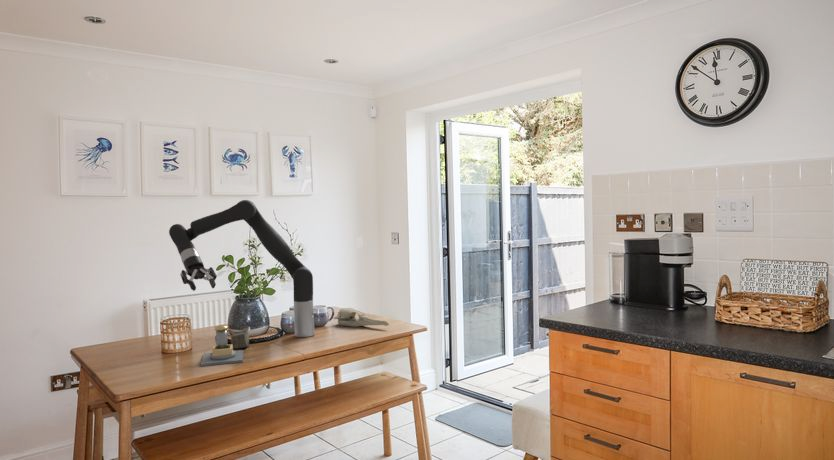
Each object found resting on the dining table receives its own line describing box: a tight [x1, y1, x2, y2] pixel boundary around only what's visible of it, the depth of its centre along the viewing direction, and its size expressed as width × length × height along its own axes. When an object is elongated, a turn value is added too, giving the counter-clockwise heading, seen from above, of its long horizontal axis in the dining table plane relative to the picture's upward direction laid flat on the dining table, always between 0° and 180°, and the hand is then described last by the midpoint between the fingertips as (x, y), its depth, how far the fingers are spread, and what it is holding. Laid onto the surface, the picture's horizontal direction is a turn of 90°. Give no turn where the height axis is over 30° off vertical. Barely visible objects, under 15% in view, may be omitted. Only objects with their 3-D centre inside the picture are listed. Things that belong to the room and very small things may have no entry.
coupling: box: [214, 324, 229, 349], centre depth 225 cm, size 5×5×11 cm
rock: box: [230, 327, 250, 350], centre depth 246 cm, size 17×7×10 cm
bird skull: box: [333, 307, 390, 328], centre depth 280 cm, size 8×32×10 cm, turn 60°
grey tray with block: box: [200, 343, 245, 367], centre depth 225 cm, size 16×16×5 cm
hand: (204, 288), depth 233 cm, fingers open, 8 cm apart
